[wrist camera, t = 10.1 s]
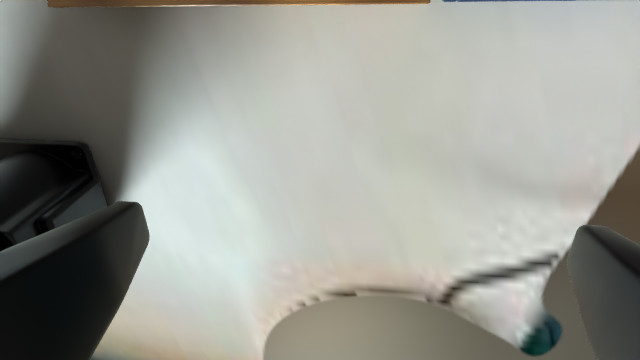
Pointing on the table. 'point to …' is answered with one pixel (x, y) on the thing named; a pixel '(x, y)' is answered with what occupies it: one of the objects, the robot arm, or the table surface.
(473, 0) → the tray
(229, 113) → the table surface
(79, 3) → the wooden box
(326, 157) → the table surface
